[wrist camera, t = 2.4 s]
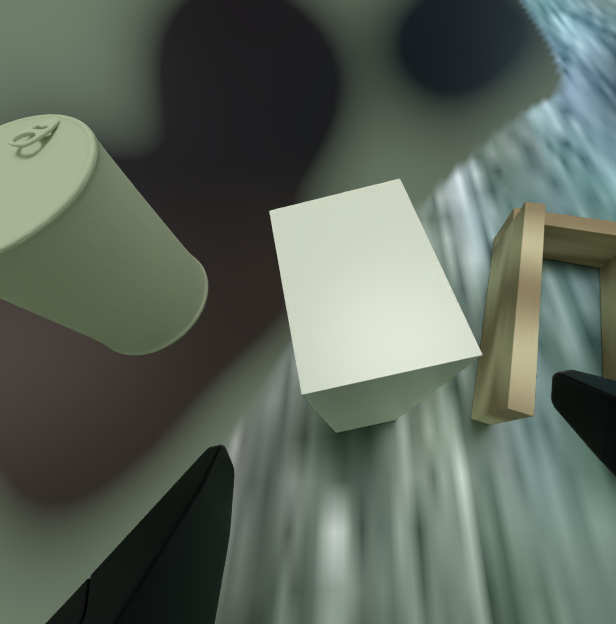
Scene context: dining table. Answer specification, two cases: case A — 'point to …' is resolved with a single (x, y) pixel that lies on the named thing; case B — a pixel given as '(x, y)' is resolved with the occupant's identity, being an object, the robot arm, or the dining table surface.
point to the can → (89, 241)
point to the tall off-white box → (367, 306)
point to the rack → (535, 304)
